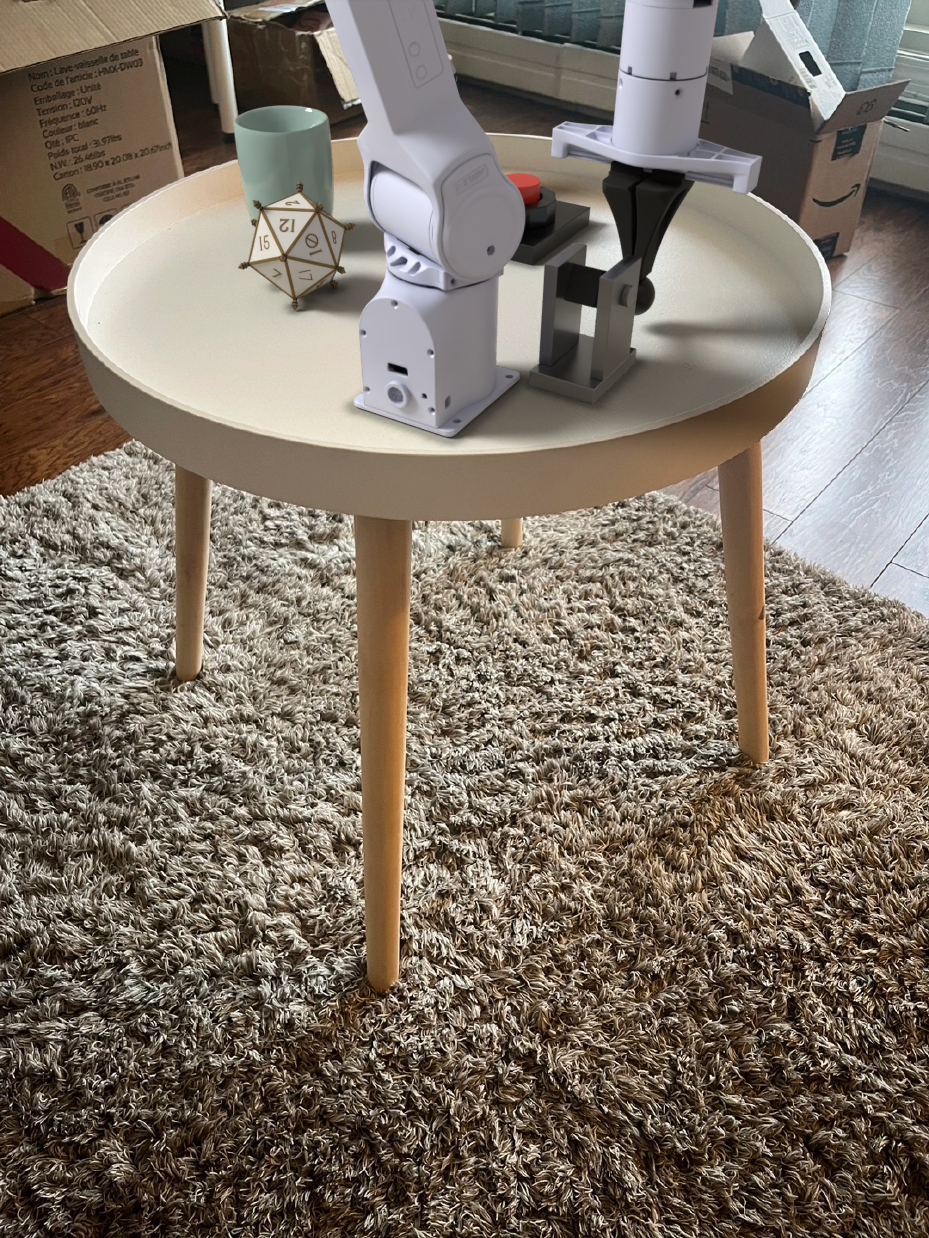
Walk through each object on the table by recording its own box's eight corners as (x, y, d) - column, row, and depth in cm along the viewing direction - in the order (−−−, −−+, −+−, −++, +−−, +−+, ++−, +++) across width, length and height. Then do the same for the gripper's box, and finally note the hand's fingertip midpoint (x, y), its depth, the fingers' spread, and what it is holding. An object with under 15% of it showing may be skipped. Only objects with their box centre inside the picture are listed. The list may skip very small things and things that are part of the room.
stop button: (511, 190, 91) (512, 170, 89) (546, 198, 89) (547, 178, 88) (491, 202, 88) (491, 182, 87) (527, 210, 87) (528, 190, 86)
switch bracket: (567, 345, 75) (576, 234, 69) (641, 365, 73) (656, 252, 67) (522, 384, 70) (527, 269, 65) (599, 407, 68) (612, 289, 62)
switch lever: (617, 311, 77) (628, 271, 76) (654, 320, 76) (665, 280, 75) (557, 303, 67) (568, 257, 66) (597, 314, 66) (609, 266, 65)
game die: (302, 327, 85) (307, 206, 84) (372, 318, 80) (379, 188, 79) (214, 304, 78) (219, 172, 77) (285, 292, 73) (291, 150, 72)
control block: (504, 207, 96) (505, 169, 94) (589, 225, 93) (592, 186, 90) (443, 245, 89) (443, 205, 87) (532, 267, 86) (534, 225, 83)
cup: (355, 233, 91) (346, 114, 84) (300, 262, 86) (286, 139, 79) (288, 216, 94) (275, 100, 87) (232, 243, 89) (213, 122, 82)
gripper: (792, 71, 64) (750, 276, 74) (589, 42, 70) (574, 236, 79) (755, 97, 60) (716, 312, 69) (542, 64, 66) (531, 267, 75)
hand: (637, 274), depth 74 cm, fingers closed
